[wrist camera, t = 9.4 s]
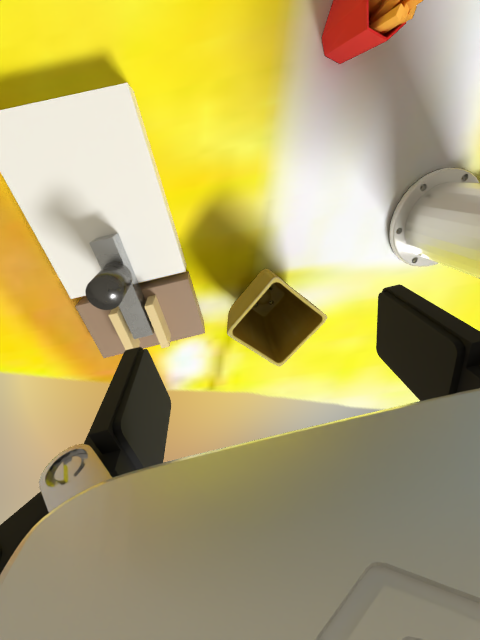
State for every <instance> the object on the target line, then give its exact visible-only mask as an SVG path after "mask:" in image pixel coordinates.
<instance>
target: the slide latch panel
mask: <svg viewBox="0 0 480 640" xmlns="http://www.w3.org/2000/svg"><path fill="white" fill-rule="evenodd" d="M0 172H1V174H2V175H3V177H4V179H5V181H6V183H7V184H8V186H9V188H10V190H11V192H12V193H13V195H14V197H15V199H16V201H17V202H18V204H19V206H20V208H21V210H22V211H23V213H24V215H25V217H26V219H27V220H28V222H29V224H30V226H31V228H32V230H33V231H34V233H35V235H36V237H37V239H38V240H39V242H40V244H41V246H42V248H43V249H44V251H45V253H46V255H47V257H48V258H49V260H50V262H51V264H52V266H53V267H54V269H55V271H56V273H57V275H58V276H59V278H60V280H61V282H62V284H63V285H64V287H65V289H66V291H67V293H68V294H69V296H70V298H71V299H73V298H77V297H82V296H84V297H83V298H82V299H81V300H80V301H79V302H78V304H77V305H76V306H75V307H76V309H77V311H78V312H79V314H80V316H81V318H82V320H83V321H84V323H85V325H86V327H87V329H88V330H89V332H90V334H91V336H92V338H93V339H94V341H95V343H96V345H97V347H98V348H99V350H100V352H101V354H102V356H103V357H104V358H106V357H110V356H114V355H118V354H122V353H124V352H125V350H128V349H133V348H137V347H142V348H146V347H151V346H155V345H159V344H160V345H161V348H165V347H169V346H170V342H171V341H175V340H179V339H183V338H187V337H191V336H195V335H199V334H203V333H205V328H204V321H203V317H202V314H201V311H200V307H199V304H198V301H197V298H196V294H195V291H194V288H193V284H192V281H191V278H190V275H189V271H188V272H186V261H185V258H184V255H183V252H182V248H181V245H180V242H179V238H178V235H177V232H176V229H175V225H174V222H173V219H172V215H171V212H170V209H169V206H168V202H167V199H166V196H165V192H164V189H163V186H162V183H161V179H160V176H159V173H158V170H157V166H156V163H155V160H154V156H153V153H152V150H151V147H150V143H149V140H148V137H147V133H146V130H145V127H144V124H143V120H142V117H141V114H140V110H139V107H138V104H137V101H136V97H135V94H134V91H133V90H132V88H131V87H130V86H129V84H128V83H124V84H119V85H114V86H110V87H105V88H101V89H96V90H91V91H87V92H82V93H77V94H73V95H68V96H64V97H59V98H54V99H50V100H45V101H40V102H36V103H31V104H27V105H22V106H17V107H13V108H8V109H4V110H0ZM115 233H118V234H119V237H120V239H121V241H122V244H123V246H124V249H125V251H126V254H127V256H128V259H129V261H130V263H131V266H132V268H133V271H134V273H135V276H136V278H137V281H138V283H139V286H140V288H141V290H142V293H143V295H144V298H145V300H146V303H145V306H144V307H145V309H146V312H147V314H148V316H149V319H150V321H151V324H152V326H153V328H154V334H153V335H150V336H146V337H141V338H137V339H134V338H133V336H132V334H131V332H130V329H129V327H128V325H127V323H126V321H125V319H124V317H123V314H122V312H121V310H120V308H119V306H118V307H116V308H114V309H112V310H102V309H99V308H96V307H95V306H93V305H92V304H91V303H90V302H89V301H88V299H87V297H86V293H85V290H86V287H87V285H88V283H89V282H90V281H91V280H92V279H93V278H94V277H95V276H96V275H97V274H98V273H99V271H100V270H101V267H100V265H99V263H98V261H97V259H96V257H95V254H94V252H93V250H92V248H91V246H90V244H89V243H90V242H91V241H93V240H94V239H95V238H98V237H102V236H106V235H111V234H115ZM181 272H183V273H181ZM177 273H179V274H177ZM173 274H175V275H173ZM169 275H171V276H169ZM165 276H167V277H165ZM161 277H163V278H161ZM156 278H158V279H156ZM152 279H154V280H152ZM148 280H150V281H148ZM144 281H146V282H144ZM140 282H142V283H140Z"/></svg>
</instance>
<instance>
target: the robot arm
mask: <svg viewBox="0 0 480 640" xmlns="http://www.w3.org/2000/svg"><path fill="white" fill-rule="evenodd" d="M389 236H390V244H391V247H392V250H393V251H394V253H395V255H396V256H397V257H398V258H399V259H400V260H402V261H403V262H405V263H407V264H409V265H412V266H417V267H427V266H431V265H435V264H438V263H440V264H442V265H445V266H448V267H450V268H453V269H455V270H458V271H461V272H463V273H466V274H468V275H471V276H474V277H476V278H479V279H480V182H479V181H478V179H477V178H476V176H474V175H473V174H472V173H471V172H469V171H467V170H464V169H460V168H444V169H440V170H436V171H434V172H431V173H429V174H427V175H425V176H424V177H422V178H421V179H419V180H418V181H417V182H416V183H415V184H414V185H412V186H411V187H410V188H409V190H408V191H407V192H406V193H405V194H404V195H403V197H402V198H401V200H400V202H399V203H398V205H397V207H396V209H395V211H394V214H393V217H392V220H391V224H390V232H389ZM376 349H377V353H378V355H379V357H380V358H381V359H382V360H383V361H384V362H385V363H386V364H387V365H388V366H389V367H390V369H391V370H392V371H393V372H394V373H395V374H396V375H397V376H398V377H399V378H400V379H401V380H402V381H403V383H404V384H405V385H406V386H407V387H408V388H409V389H410V390H411V391H412V392H413V393H414V394H415V396H416V397H417V398H418V399H419V400H420V401H419V402H415V403H411V404H406V405H402V406H398V407H393V408H389V409H385V410H380V411H376V412H372V413H367V414H363V415H359V416H354V417H350V418H346V419H342V420H338V421H334V422H329V423H325V424H321V425H316V426H312V427H308V428H304V429H300V430H296V431H291V432H287V433H283V434H279V435H275V436H270V437H266V438H262V439H258V440H254V441H250V442H246V443H241V444H237V445H234V446H229V447H225V448H221V449H217V450H213V451H209V452H205V453H200V454H196V455H192V456H188V457H184V458H180V459H176V460H172V461H168V462H164V463H163V459H164V452H165V444H166V438H167V431H168V424H169V417H170V410H171V400H170V397H169V395H168V393H167V391H166V388H165V386H164V384H163V382H162V380H161V378H160V375H159V373H158V371H157V369H156V367H155V365H154V362H153V360H152V358H151V356H150V354H149V352H148V350H147V349H144V350H143V348H142V347H137V348H133V349H128V350H125V352H124V354H123V356H122V359H121V361H120V363H119V365H118V368H117V370H116V372H115V374H114V377H113V379H112V381H111V384H110V386H109V388H108V391H107V393H106V395H105V397H104V399H103V402H102V404H101V406H100V408H99V411H98V413H97V415H96V417H95V420H94V422H93V425H92V426H91V429H90V432H89V433H88V436H87V438H86V440H85V442H84V444H79V445H75V446H73V447H70V448H68V449H66V450H64V451H63V452H61V453H60V454H58V455H57V456H56V457H55V458H54V459H52V461H51V462H50V463H49V464H48V465H47V466H46V468H45V469H44V471H43V473H42V474H41V477H40V480H39V487H40V490H41V492H40V493H38V494H37V495H36V496H35V497H34V498H32V499H31V500H30V501H29V502H28V503H26V504H25V505H24V506H23V507H22V508H20V509H19V510H18V511H17V512H16V513H14V514H13V515H12V516H11V517H10V518H8V519H7V520H6V521H5V522H4V523H2V524H1V525H0V640H480V331H478V330H476V329H475V328H473V327H471V326H470V325H468V324H466V323H465V322H463V321H461V320H459V319H458V318H456V317H454V316H453V315H451V314H449V313H448V312H446V311H444V310H443V309H441V308H439V307H437V306H436V305H434V304H432V303H431V302H429V301H427V300H426V299H424V298H422V297H421V296H419V295H417V294H416V293H414V292H412V291H410V290H409V289H407V288H405V287H404V286H402V285H396V286H391V287H387V288H384V289H383V291H382V293H380V294H379V296H378V319H377V345H376Z"/></svg>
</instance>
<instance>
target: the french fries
mask: <svg viewBox="0 0 480 640" xmlns="http://www.w3.org/2000/svg"><path fill="white" fill-rule="evenodd" d="M422 1H423V0H334V1H333V3H332V6H331V9H330V12H329V15H328V18H327V21H326V25H325V28H324V31H323V35H322V43H323V49H324V55H325V56H326V57H328V58H330V59H332V60H333V61H335V62H337V63H339V64H341V63H343V62H345V61H347V60H349V59H351V58H353V57H355V56H357V55H359V54H361V53H363V52H365V51H367V50H370V49H372V48H374V47H376V46H378V45H380V44H382V43H384V42H386V41H387V40H388V39H390V38H391V37H392V36H393V35H394V34H395V33H396V32H397V31H398V30H399V29H400V28H401V27H403V26H404V25H405V24H406V21H408V20H410V19H412V18H413V16H414V13H415V10H416V7H417V6H416V5H418V4H419V3H421V2H422Z"/></svg>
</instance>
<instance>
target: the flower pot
mask: <svg viewBox="0 0 480 640" xmlns="http://www.w3.org/2000/svg"><path fill="white" fill-rule="evenodd" d="M270 286H272V289H271V290H269V289H268V288H269V287H270ZM270 301H273V303H272V304H269V302H270ZM256 303H257V306H254V305H255V304H256ZM326 319H327V316H326V315H325V314H324V313H323V312H322V311H320V310H319V309H318V308H317V307H316V306H314V305H313V304H312V303H311V302H309V301H308V300H307V299H306V298H304V297H303V296H302V295H300V294H299V293H298V292H296V291H295V290H294V289H293V288H291V287H290V286H289V285H288V284H287V283H285V282H284V281H283V280H282V279H280V278H279V277H278V276H277V275H276V274H274V273H273V272H272V271H271V270H269V269H263V270H262V271H261V272H260V273H259V274H258V275H257V276H256V278H255V279H254V280H253V281H252V282H251V284H250V285H249V286H248V287H247V288H246V290H245V291H244V292H243V293H242V294H241V296H240V297H239V298H238V299H237V300H236V301H235V302H234V304H233V305H232V307H231V309H230V311H229V314H228V325H227V334H228V336H230V337H231V338H233V339H234V340H236V341H238V342H239V343H241V344H242V345H244V346H246V347H247V348H249V349H251V350H252V351H254V352H255V353H257V354H259V355H260V356H262V357H263V358H265V359H267V360H268V361H270V362H271V363H273V364H275V365H277V366H281V365H283V364H284V363H285V362H286V361H287V360H288V359H289V358H290V357H291V356H292V355H293V354H294V353H295V352H296V351H297V349H298V348H299V347H300V346H301V345H302V344H303V343H304V342H305V341H306V340H307V339H308V338H309V337H310V336H311V335H312V334H313V333H314V332H315V331H316V330H317V329H318V328H319V327H320V326H321V325H322V324H323V323H324V322H325V320H326Z"/></svg>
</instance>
